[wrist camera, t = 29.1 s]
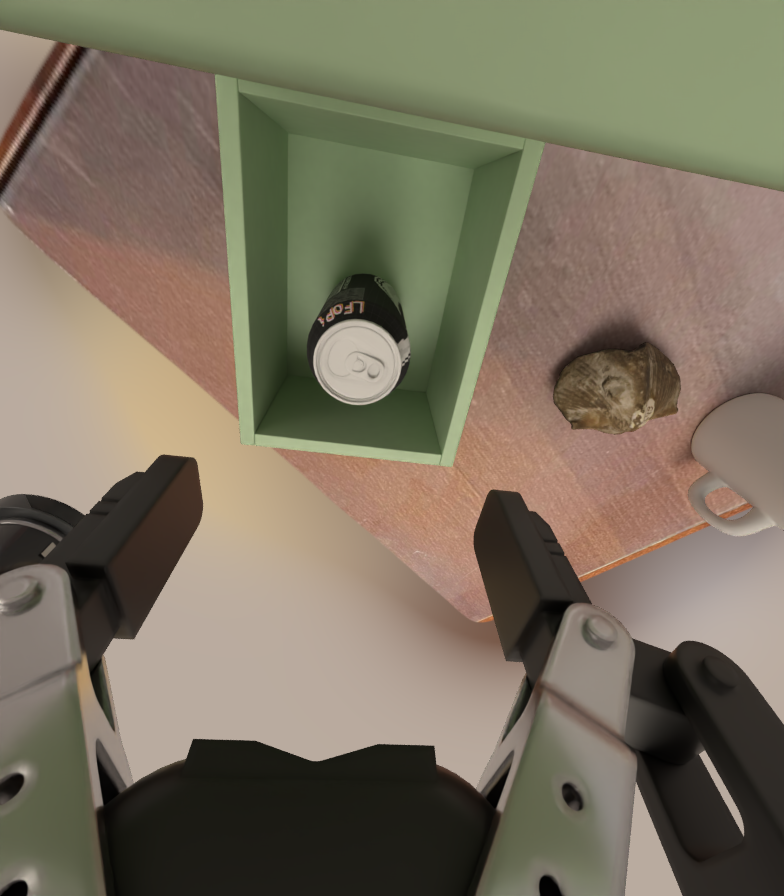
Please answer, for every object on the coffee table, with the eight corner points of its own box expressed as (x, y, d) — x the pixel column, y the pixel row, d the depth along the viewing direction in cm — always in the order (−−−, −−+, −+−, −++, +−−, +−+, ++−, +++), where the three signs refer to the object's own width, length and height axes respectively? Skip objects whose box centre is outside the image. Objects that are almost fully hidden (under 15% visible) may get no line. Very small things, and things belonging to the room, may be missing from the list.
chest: (432, 398, 35) (452, 467, 25) (278, 378, 33) (240, 444, 24) (487, 156, 25) (550, 127, 16) (276, 114, 24) (212, 56, 15)
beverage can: (385, 358, 32) (388, 429, 21) (318, 332, 30) (288, 395, 20) (413, 290, 29) (432, 334, 19) (341, 258, 28) (319, 287, 17)
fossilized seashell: (543, 434, 34) (635, 434, 36) (599, 433, 28) (707, 434, 30) (544, 350, 34) (636, 356, 36) (600, 329, 28) (709, 338, 30)
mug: (765, 373, 34) (908, 435, 25) (796, 428, 38) (932, 501, 28) (642, 456, 39) (724, 534, 30) (679, 498, 42) (763, 581, 33)
